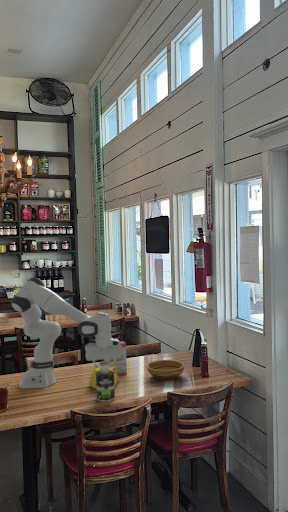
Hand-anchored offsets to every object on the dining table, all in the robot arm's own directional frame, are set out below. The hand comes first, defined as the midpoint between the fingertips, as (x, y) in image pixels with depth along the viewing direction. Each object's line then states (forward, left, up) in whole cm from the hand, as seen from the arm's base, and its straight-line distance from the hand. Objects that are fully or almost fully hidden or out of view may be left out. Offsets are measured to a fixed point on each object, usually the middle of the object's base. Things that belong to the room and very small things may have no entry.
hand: (104, 366), depth 240 cm
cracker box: (+13, +39, -18) cm, 45 cm away
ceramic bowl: (+42, +23, -18) cm, 51 cm away
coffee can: (0, 0, -18) cm, 18 cm away
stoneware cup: (0, 0, -4) cm, 4 cm away
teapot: (+4, +20, -18) cm, 27 cm away
